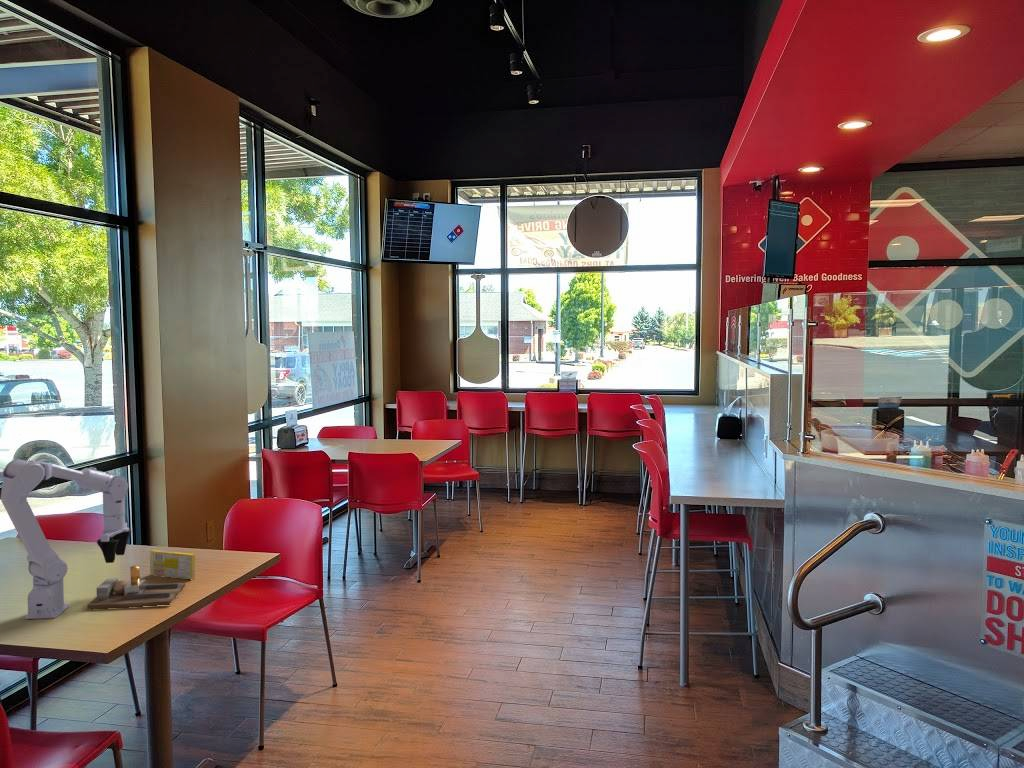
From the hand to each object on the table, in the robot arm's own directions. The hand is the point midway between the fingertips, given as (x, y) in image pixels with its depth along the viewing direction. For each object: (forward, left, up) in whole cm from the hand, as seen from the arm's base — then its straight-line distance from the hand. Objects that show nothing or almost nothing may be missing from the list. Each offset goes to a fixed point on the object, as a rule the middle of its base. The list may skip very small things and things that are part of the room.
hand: (115, 558), depth 221 cm
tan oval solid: (-6, -4, -7) cm, 10 cm away
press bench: (-6, -9, -10) cm, 15 cm away
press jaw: (-6, -8, -9) cm, 13 cm away
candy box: (+13, -13, -11) cm, 21 cm away
